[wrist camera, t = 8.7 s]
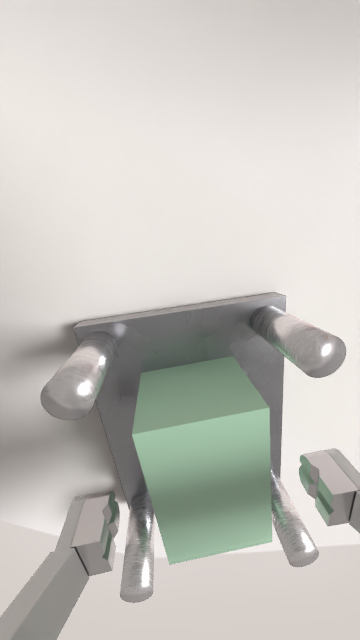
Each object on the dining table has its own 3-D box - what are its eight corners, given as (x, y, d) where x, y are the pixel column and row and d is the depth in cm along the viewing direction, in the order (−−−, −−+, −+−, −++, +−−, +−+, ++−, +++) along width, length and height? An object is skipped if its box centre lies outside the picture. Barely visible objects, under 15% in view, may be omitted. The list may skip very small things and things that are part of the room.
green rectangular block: (141, 372, 11) (131, 434, 7) (232, 356, 11) (269, 407, 8) (166, 478, 14) (169, 564, 10) (241, 462, 14) (272, 541, 10)
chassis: (80, 321, 11) (21, 372, 6) (275, 292, 12) (356, 319, 7) (133, 500, 15) (121, 610, 11) (272, 473, 16) (320, 566, 11)
